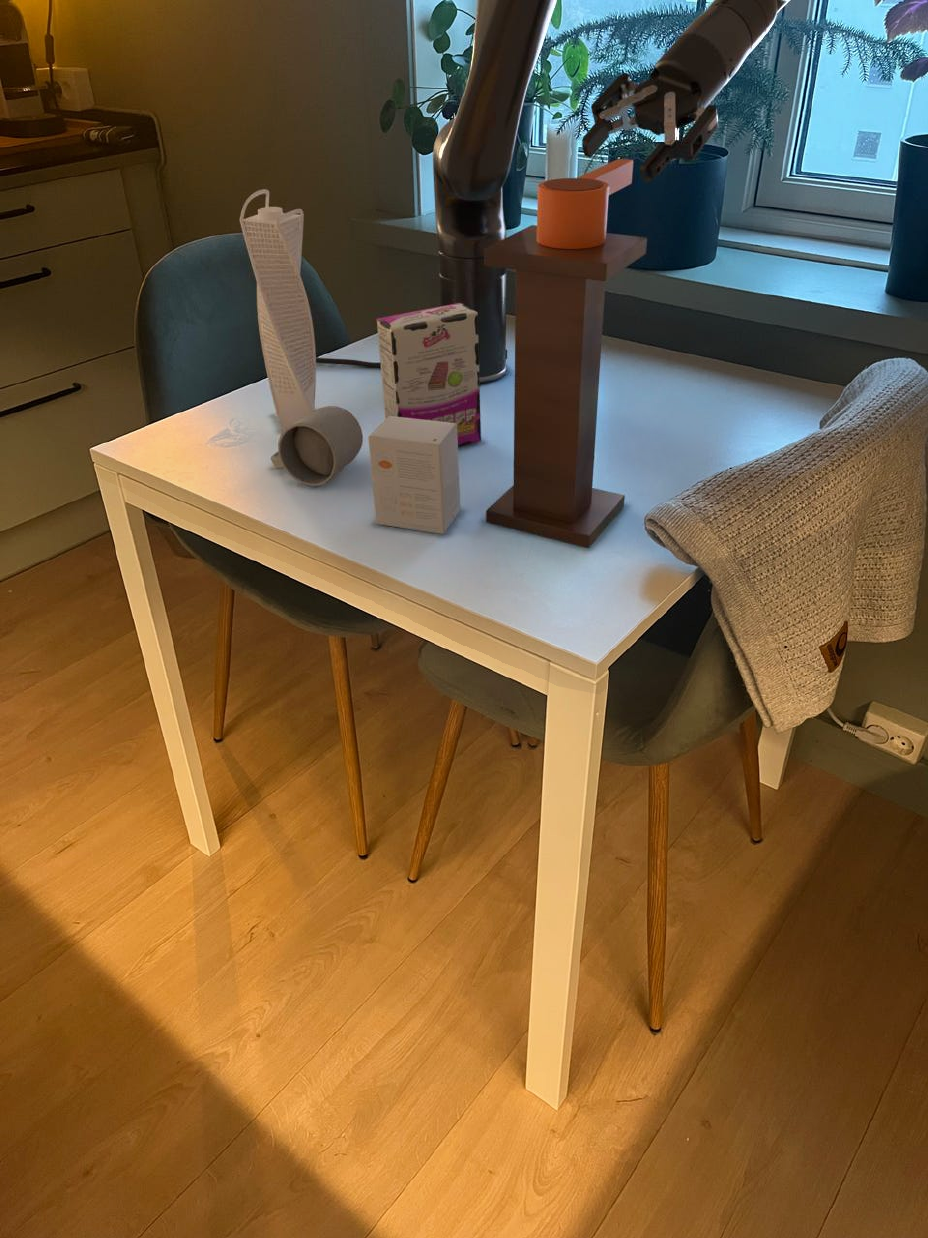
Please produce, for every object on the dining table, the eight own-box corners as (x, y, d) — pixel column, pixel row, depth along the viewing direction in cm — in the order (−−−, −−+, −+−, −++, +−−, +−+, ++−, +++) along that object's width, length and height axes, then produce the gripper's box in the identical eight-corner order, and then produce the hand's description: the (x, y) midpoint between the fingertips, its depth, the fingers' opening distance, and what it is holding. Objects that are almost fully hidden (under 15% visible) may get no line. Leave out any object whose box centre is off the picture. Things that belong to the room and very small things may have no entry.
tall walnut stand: (526, 484, 111) (531, 224, 94) (624, 506, 106) (647, 237, 89) (485, 522, 104) (483, 248, 87) (588, 548, 99) (606, 263, 82)
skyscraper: (265, 413, 129) (232, 190, 113) (319, 405, 131) (294, 184, 115) (274, 436, 123) (240, 203, 107) (331, 428, 125) (306, 198, 109)
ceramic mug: (369, 461, 116) (363, 401, 112) (339, 491, 110) (331, 428, 106) (292, 451, 120) (284, 392, 115) (259, 479, 113) (248, 418, 109)
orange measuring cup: (593, 208, 100) (596, 156, 97) (652, 214, 97) (656, 161, 94) (524, 244, 88) (525, 187, 85) (589, 252, 85) (592, 193, 83)
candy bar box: (463, 428, 124) (460, 300, 114) (482, 442, 120) (480, 311, 111) (384, 447, 120) (374, 316, 110) (401, 462, 116) (392, 328, 107)
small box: (461, 511, 106) (459, 422, 100) (444, 536, 101) (440, 444, 95) (394, 501, 108) (388, 413, 102) (374, 525, 104) (367, 434, 98)
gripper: (648, 15, 110) (559, 117, 109) (752, 49, 104) (659, 158, 103) (657, 71, 117) (573, 168, 116) (755, 106, 111) (667, 208, 109)
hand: (613, 163), depth 109 cm, fingers open, 8 cm apart
